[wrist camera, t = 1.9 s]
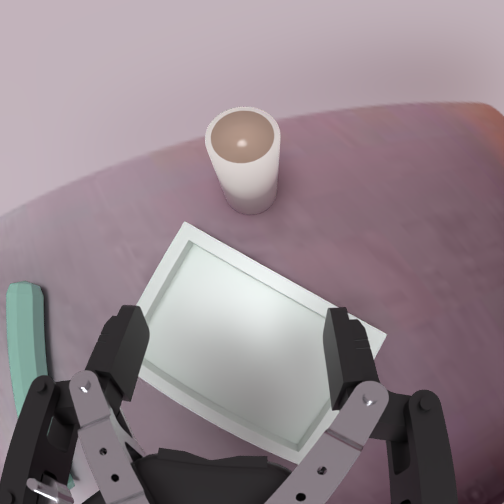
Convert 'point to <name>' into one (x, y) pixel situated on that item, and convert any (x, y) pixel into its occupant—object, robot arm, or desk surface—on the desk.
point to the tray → (239, 345)
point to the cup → (245, 157)
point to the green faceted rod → (26, 340)
